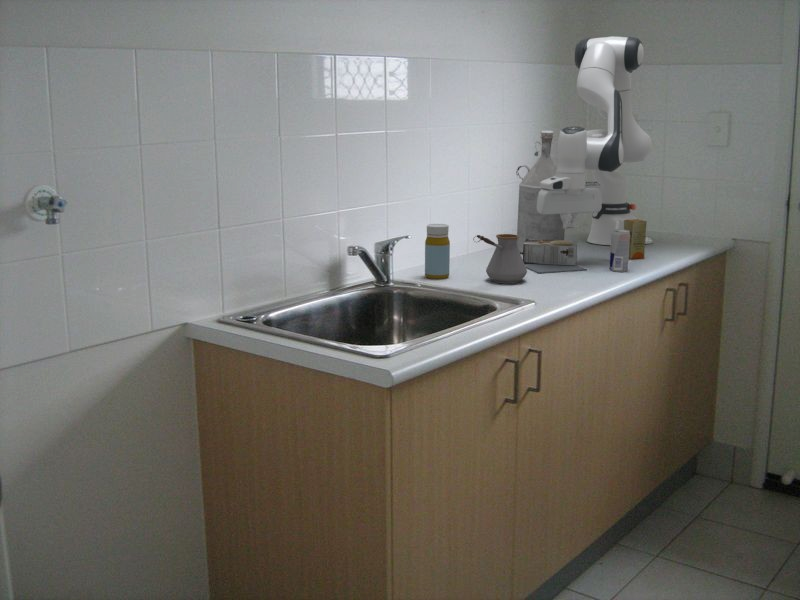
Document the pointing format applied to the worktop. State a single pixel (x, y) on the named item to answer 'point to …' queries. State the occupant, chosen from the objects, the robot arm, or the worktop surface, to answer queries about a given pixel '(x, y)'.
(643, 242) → the shoe polish box
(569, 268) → the mat
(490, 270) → the coffee pot
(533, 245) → the coffee box
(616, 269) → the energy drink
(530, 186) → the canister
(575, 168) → the robot arm
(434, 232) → the bottle
